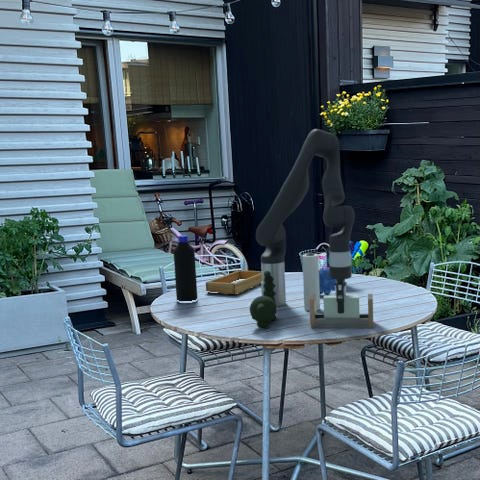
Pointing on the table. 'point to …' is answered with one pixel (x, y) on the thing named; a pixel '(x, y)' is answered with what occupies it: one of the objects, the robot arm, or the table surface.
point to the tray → (227, 287)
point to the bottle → (185, 270)
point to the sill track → (322, 322)
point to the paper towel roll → (311, 279)
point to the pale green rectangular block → (349, 307)
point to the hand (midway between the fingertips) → (341, 310)
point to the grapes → (326, 282)
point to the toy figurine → (265, 304)
